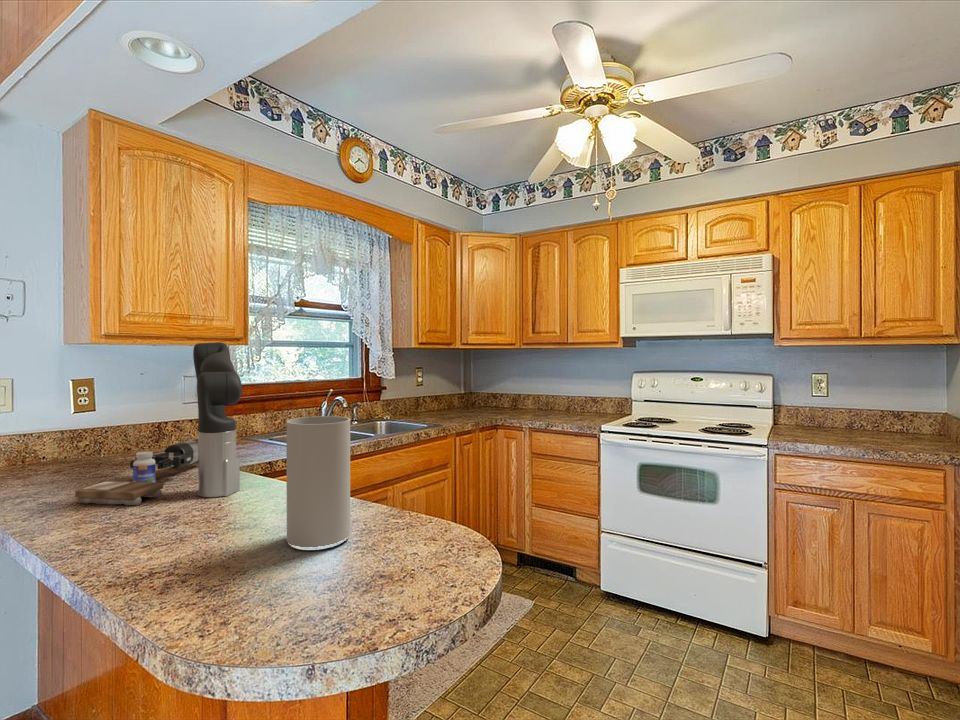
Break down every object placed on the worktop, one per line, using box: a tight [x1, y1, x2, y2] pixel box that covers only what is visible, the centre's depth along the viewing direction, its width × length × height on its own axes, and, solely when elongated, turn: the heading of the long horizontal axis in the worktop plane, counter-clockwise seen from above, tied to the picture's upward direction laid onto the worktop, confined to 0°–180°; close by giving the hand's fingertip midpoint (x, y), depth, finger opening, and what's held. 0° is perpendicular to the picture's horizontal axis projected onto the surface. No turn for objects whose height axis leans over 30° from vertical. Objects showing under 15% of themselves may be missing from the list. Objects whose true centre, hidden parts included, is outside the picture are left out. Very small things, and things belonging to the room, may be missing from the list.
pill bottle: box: [132, 451, 156, 482], centre depth 145 cm, size 5×5×10 cm
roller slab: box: [74, 480, 164, 506], centre depth 131 cm, size 16×10×4 cm, turn 84°
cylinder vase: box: [285, 415, 351, 547], centre depth 104 cm, size 12×12×25 cm
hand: (144, 465), depth 145 cm, fingers open, 8 cm apart
